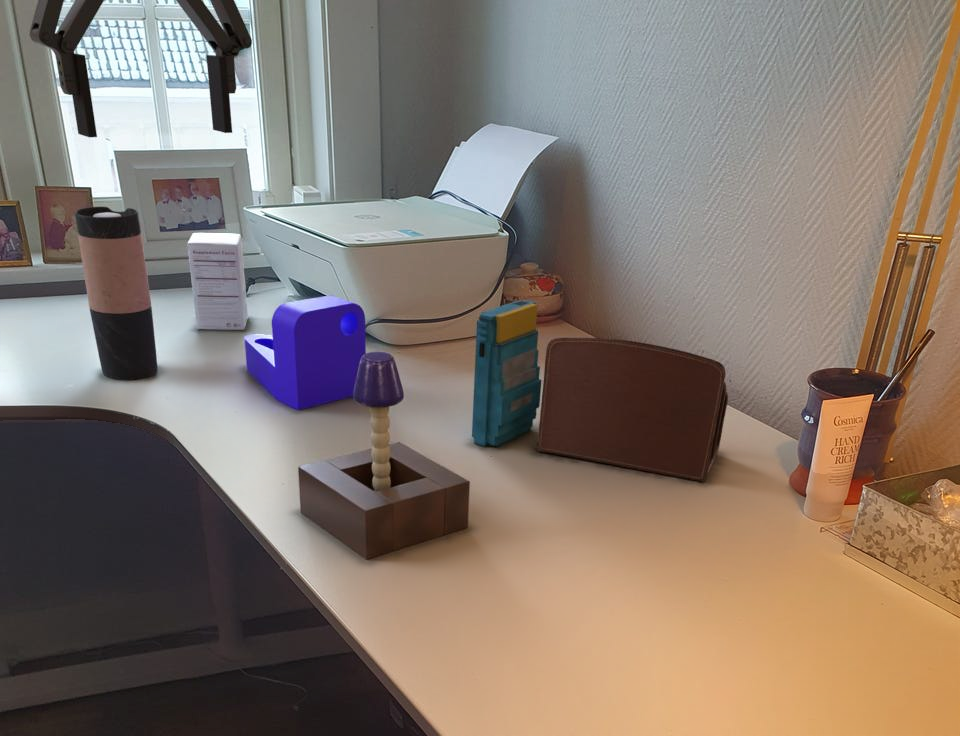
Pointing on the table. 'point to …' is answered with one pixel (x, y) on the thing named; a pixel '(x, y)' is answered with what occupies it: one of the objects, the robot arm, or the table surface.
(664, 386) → the letter holder
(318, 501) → the socket base
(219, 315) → the white packaging box
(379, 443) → the toy lamp
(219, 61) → the robot arm
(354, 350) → the bracket
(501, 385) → the handheld gaming console
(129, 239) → the travel mug
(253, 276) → the table surface
